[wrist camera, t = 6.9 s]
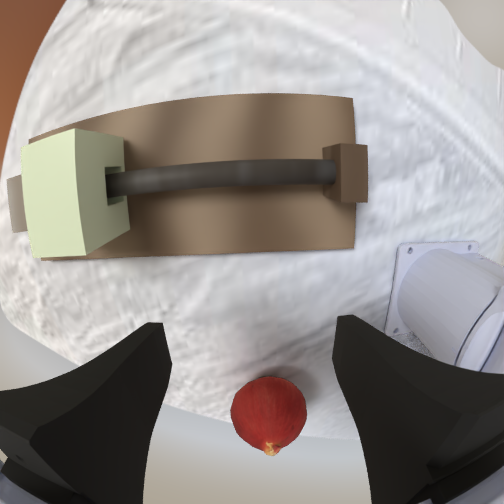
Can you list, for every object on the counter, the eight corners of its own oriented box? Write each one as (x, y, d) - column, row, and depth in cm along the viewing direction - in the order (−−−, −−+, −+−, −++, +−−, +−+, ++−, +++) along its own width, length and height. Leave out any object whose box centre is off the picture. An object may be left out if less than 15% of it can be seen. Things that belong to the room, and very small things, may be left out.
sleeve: (123, 137, 15) (74, 128, 10) (130, 229, 17) (86, 255, 11) (74, 148, 15) (20, 147, 10) (82, 233, 17) (32, 257, 11)
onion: (301, 397, 23) (315, 466, 15) (240, 405, 23) (238, 476, 15) (296, 350, 21) (314, 427, 13) (226, 361, 21) (218, 439, 14)
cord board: (347, 101, 16) (379, 82, 11) (348, 244, 19) (379, 268, 14) (36, 139, 16) (-5, 138, 11) (48, 256, 19) (11, 278, 14)
